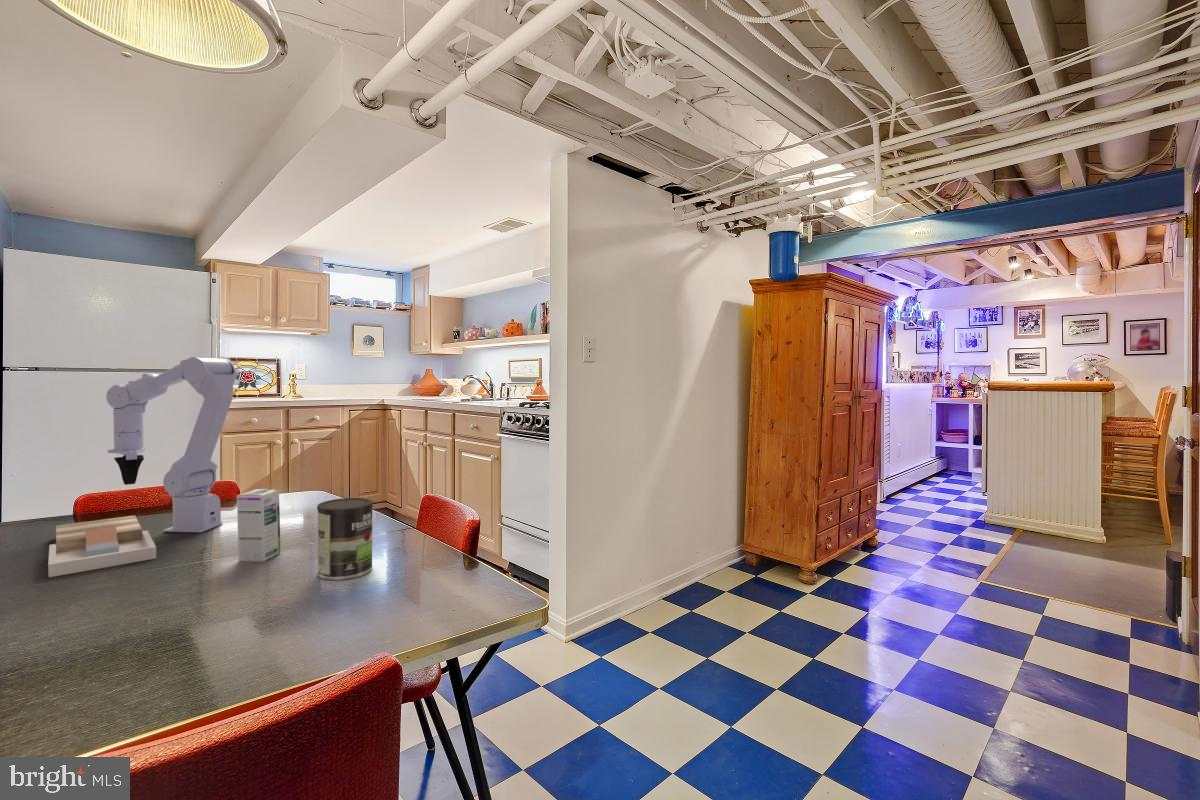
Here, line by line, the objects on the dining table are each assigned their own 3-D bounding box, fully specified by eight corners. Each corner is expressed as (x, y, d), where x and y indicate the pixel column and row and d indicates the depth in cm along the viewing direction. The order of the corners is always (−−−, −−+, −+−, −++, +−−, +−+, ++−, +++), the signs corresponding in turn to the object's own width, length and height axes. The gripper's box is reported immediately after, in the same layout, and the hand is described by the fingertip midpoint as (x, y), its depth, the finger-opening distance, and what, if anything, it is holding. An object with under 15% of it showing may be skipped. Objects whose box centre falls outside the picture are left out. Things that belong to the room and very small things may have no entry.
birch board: (56, 538, 125) (56, 525, 125) (135, 527, 135) (135, 515, 135) (56, 555, 114) (56, 541, 114) (142, 541, 124) (141, 529, 124)
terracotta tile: (85, 537, 117) (85, 530, 116) (115, 532, 121) (116, 526, 120) (86, 553, 114) (86, 546, 114) (117, 548, 118) (117, 541, 117)
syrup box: (264, 562, 113) (263, 494, 112) (237, 561, 113) (236, 493, 112) (281, 553, 119) (280, 488, 118) (254, 552, 119) (254, 488, 118)
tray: (49, 556, 113) (49, 544, 113) (147, 540, 125) (147, 530, 125) (48, 577, 102) (48, 564, 102) (156, 558, 114) (156, 546, 114)
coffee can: (383, 564, 113) (383, 499, 112) (351, 583, 103) (351, 511, 102) (340, 560, 115) (340, 495, 114) (305, 577, 105) (304, 507, 104)
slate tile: (86, 551, 110) (86, 560, 110) (118, 546, 113) (119, 555, 114) (85, 545, 113) (85, 554, 113) (117, 540, 117) (117, 549, 117)
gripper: (105, 430, 139) (106, 481, 140) (109, 435, 129) (110, 490, 130) (141, 428, 144) (142, 478, 145) (147, 433, 134) (148, 486, 135)
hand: (129, 483), depth 138 cm, fingers closed
